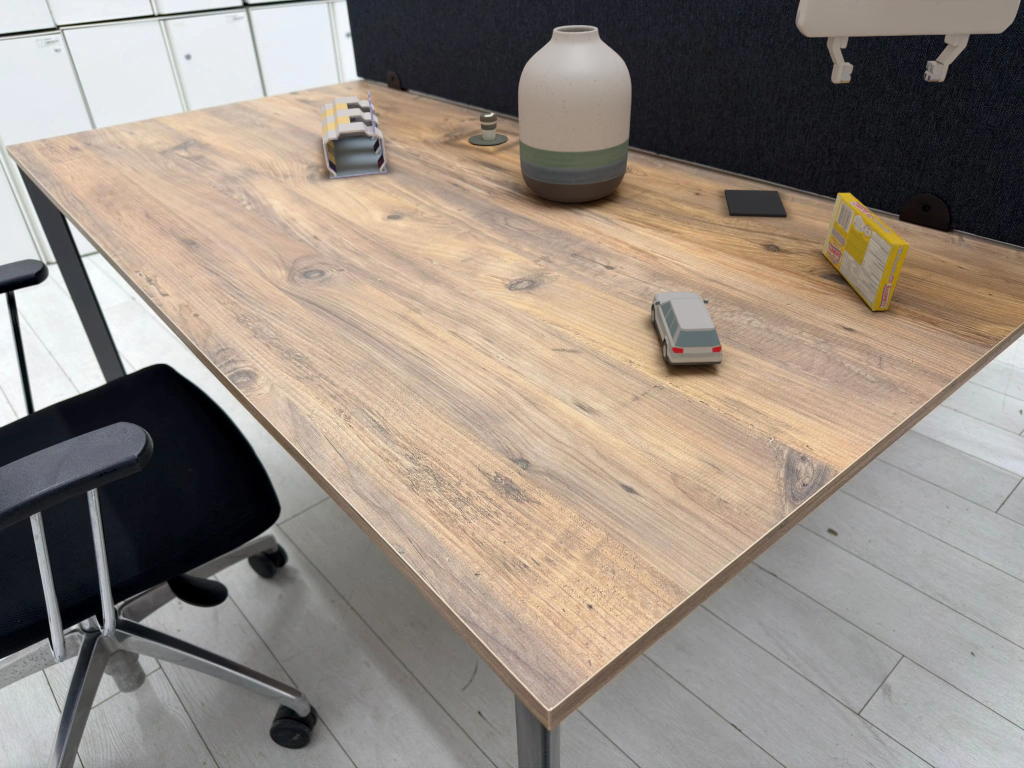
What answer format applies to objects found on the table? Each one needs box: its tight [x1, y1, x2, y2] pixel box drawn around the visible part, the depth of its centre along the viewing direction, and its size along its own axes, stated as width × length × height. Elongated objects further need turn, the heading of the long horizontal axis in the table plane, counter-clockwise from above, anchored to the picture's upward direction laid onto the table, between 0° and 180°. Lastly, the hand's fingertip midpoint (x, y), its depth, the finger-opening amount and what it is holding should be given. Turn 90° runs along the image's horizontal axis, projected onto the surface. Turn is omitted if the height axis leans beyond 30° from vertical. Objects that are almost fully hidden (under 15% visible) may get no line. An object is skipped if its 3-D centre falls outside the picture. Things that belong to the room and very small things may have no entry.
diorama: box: [320, 90, 388, 179], centre depth 133 cm, size 25×10×13 cm, turn 13°
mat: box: [724, 189, 788, 218], centre depth 110 cm, size 8×10×1 cm
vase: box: [517, 24, 632, 204], centre depth 110 cm, size 17×17×24 cm
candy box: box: [821, 192, 910, 312], centre depth 86 cm, size 16×2×8 cm, turn 0°
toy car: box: [650, 291, 723, 366], centre depth 76 cm, size 6×13×5 cm, turn 0°
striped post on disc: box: [468, 112, 509, 146], centre depth 141 cm, size 12×12×5 cm
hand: (886, 81), depth 76 cm, fingers open, 8 cm apart
